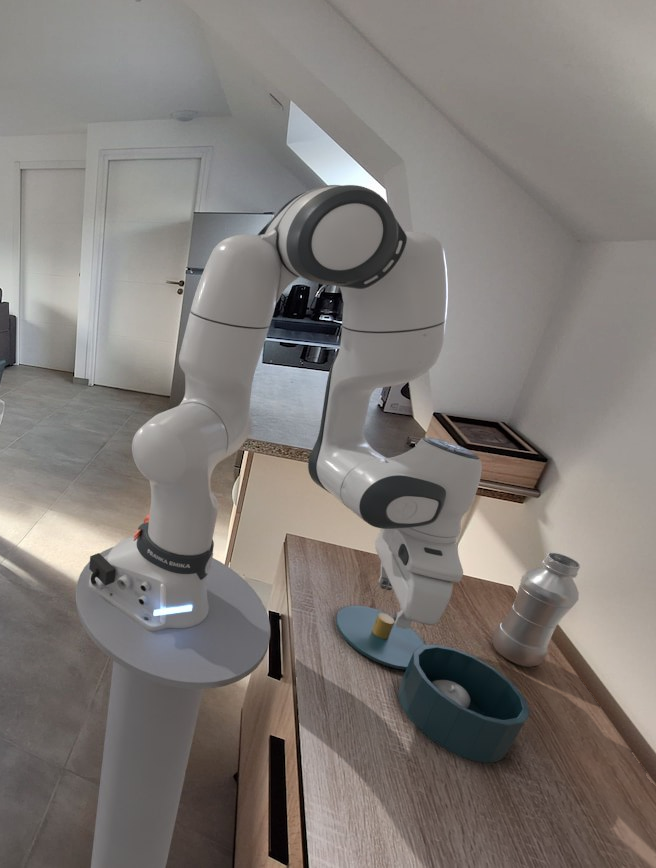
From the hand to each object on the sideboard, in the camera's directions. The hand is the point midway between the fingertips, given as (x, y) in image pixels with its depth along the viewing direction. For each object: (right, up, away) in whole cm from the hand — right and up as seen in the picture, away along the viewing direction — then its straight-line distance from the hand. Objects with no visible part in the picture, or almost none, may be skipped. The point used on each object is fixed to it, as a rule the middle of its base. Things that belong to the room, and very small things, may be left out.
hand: (391, 604), depth 77 cm
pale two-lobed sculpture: (0, -12, -10) cm, 16 cm away
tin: (+1, -12, -11) cm, 16 cm away
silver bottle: (+21, -9, 0) cm, 23 cm away
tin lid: (0, -7, +2) cm, 7 cm away
